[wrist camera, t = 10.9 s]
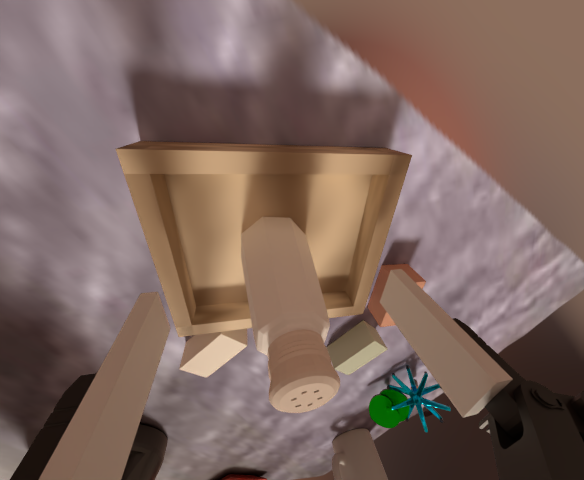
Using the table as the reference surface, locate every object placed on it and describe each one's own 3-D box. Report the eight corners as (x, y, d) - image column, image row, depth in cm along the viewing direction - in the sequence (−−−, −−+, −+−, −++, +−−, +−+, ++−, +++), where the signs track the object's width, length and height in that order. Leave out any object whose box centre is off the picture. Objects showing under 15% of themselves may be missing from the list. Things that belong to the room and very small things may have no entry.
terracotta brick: (389, 303, 26) (404, 323, 24) (366, 305, 26) (380, 327, 23) (406, 262, 23) (426, 281, 21) (380, 264, 23) (398, 283, 20)
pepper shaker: (312, 259, 19) (377, 403, 10) (252, 279, 19) (261, 444, 10) (297, 204, 16) (370, 334, 7) (226, 227, 16) (203, 391, 7)
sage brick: (339, 352, 30) (348, 375, 27) (326, 345, 28) (334, 368, 26) (374, 327, 28) (387, 349, 26) (362, 318, 27) (374, 340, 24)
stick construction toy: (424, 362, 32) (465, 422, 29) (421, 348, 38) (454, 397, 35) (354, 393, 35) (385, 449, 32) (362, 376, 41) (388, 422, 38)
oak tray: (186, 308, 20) (178, 337, 18) (140, 141, 13) (115, 148, 11) (350, 291, 23) (362, 313, 21) (385, 147, 16) (412, 155, 14)
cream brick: (210, 349, 24) (206, 377, 22) (186, 340, 23) (179, 369, 20) (247, 319, 23) (247, 345, 20) (223, 307, 22) (221, 334, 19)
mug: (376, 429, 48) (408, 505, 39) (350, 446, 51) (374, 522, 41) (339, 425, 43) (365, 513, 33) (311, 444, 45) (329, 531, 36)
